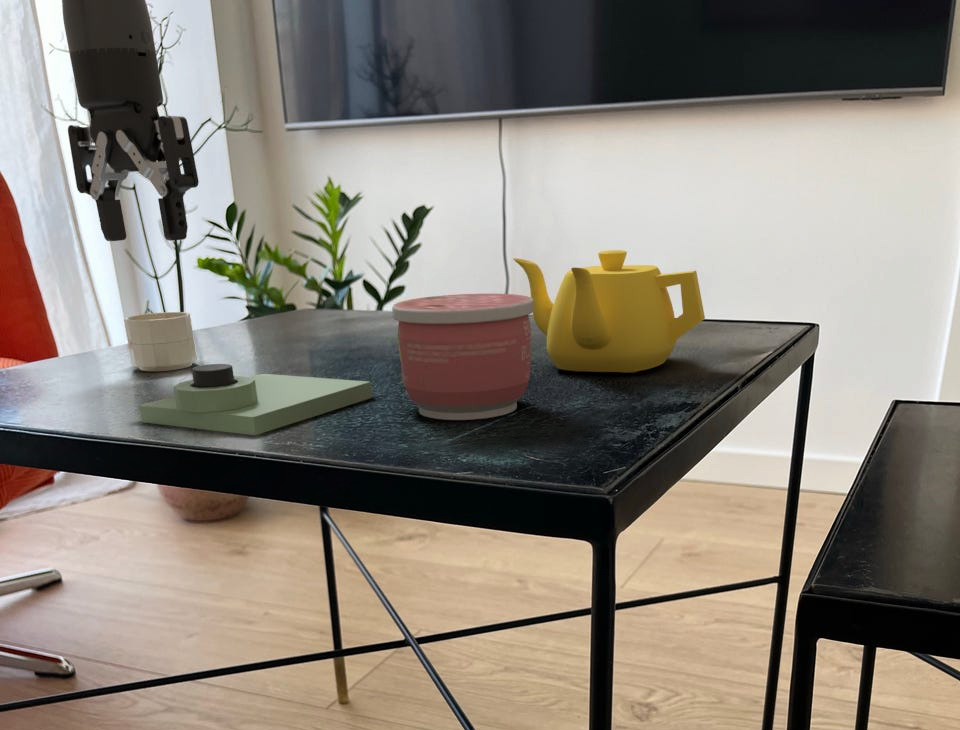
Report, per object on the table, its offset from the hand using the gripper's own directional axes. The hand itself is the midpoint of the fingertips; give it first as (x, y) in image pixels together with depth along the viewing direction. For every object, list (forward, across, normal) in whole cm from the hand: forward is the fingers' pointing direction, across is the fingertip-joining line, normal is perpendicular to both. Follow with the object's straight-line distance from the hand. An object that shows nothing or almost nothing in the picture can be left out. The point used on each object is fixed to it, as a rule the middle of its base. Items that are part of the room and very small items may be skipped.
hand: (145, 240), depth 99 cm
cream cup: (+12, 0, 0) cm, 12 cm away
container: (+12, +41, -7) cm, 43 cm away
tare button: (+9, +25, -18) cm, 32 cm away
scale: (+12, +25, -13) cm, 31 cm away
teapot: (+12, +43, +13) cm, 47 cm away
